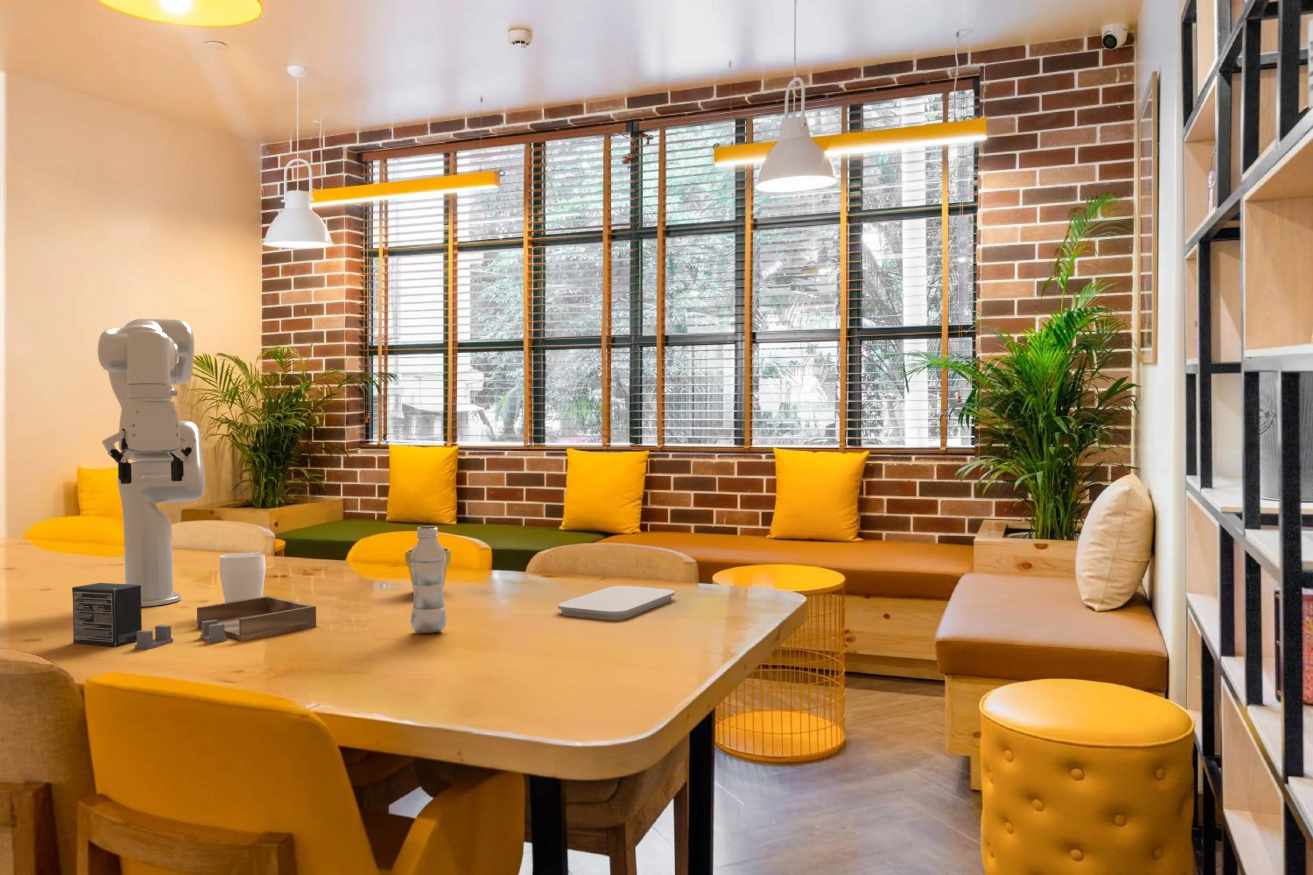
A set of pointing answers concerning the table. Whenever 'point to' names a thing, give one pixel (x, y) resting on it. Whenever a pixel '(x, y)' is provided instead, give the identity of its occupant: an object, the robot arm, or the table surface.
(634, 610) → the tablet
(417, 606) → the plastic bottle
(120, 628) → the small box
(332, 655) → the table surface
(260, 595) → the cup
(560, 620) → the table surface
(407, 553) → the plant pot
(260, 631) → the holder
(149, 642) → the clip
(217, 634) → the clip
